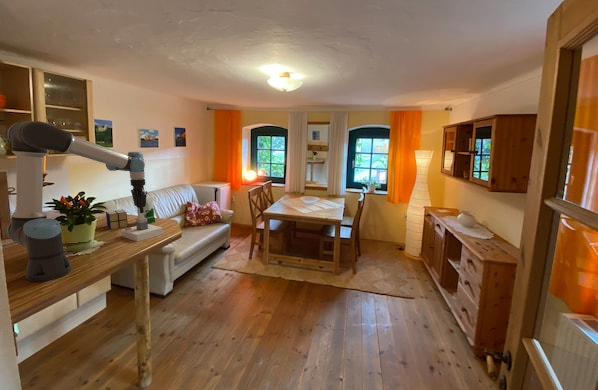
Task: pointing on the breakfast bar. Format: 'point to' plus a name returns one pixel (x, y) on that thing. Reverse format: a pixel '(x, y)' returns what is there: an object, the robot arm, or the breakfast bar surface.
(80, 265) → the breakfast bar surface
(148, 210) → the milk carton
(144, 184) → the robot arm
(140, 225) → the plug
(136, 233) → the socket plate
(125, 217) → the puzzle cube
